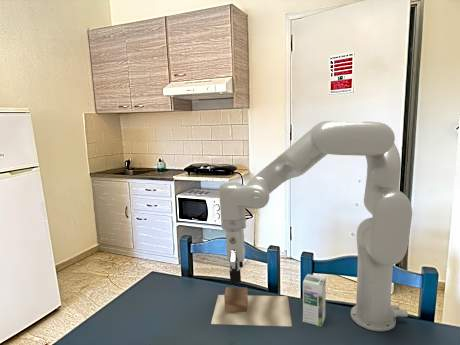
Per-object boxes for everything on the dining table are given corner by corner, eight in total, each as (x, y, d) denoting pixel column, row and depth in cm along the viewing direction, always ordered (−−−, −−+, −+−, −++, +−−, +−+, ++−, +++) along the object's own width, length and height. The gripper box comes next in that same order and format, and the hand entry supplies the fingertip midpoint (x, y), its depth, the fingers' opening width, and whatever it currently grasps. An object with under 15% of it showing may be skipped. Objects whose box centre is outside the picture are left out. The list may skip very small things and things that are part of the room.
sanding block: (247, 304, 106) (247, 287, 105) (247, 313, 101) (246, 296, 100) (226, 303, 106) (226, 287, 105) (225, 313, 101) (224, 295, 100)
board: (287, 300, 110) (287, 296, 110) (291, 330, 94) (291, 326, 94) (218, 298, 112) (218, 294, 112) (211, 328, 97) (211, 323, 96)
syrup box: (302, 326, 96) (302, 281, 94) (307, 315, 101) (307, 272, 99) (321, 331, 93) (322, 285, 91) (325, 320, 99) (326, 276, 96)
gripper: (244, 232, 90) (247, 288, 92) (247, 213, 107) (249, 262, 109) (217, 232, 90) (221, 288, 93) (224, 214, 107) (228, 262, 110)
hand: (236, 274), depth 101 cm, fingers open, 9 cm apart
